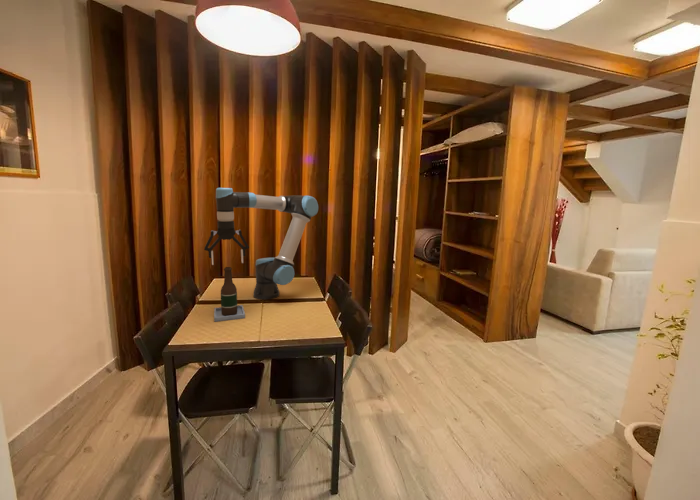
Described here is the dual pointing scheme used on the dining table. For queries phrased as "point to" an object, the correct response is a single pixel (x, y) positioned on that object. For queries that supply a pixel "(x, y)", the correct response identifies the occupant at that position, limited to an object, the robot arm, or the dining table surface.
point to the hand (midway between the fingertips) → (227, 263)
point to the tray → (239, 315)
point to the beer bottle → (228, 294)
